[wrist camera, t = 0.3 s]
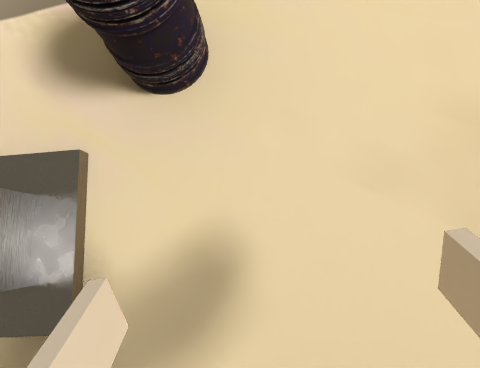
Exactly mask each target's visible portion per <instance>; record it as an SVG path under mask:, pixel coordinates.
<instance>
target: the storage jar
mask: <svg viewBox="0 0 480 368" xmlns="http://www.w3.org/2000/svg"><path fill="white" fill-rule="evenodd" d="M66 1H67V3H68V4H69V5H70V6H71V7H72V8H73V9H74V11H75V12H76V14H77V15H78V16H79V17H80V18H81V19H82V20H84V21H85V22H86V23H87V24H88V25H89V26H91V27H92V28H94V29H95V30H96V32H97V33H98V34H99V35H100V37H101V38H102V39H103V41H104V43H105V45H106V47H107V49H108V50H109V52H110V53H111V54H112V55H113V57H114V58H115V60H116V61H117V63H118V64H119V65H120V66H121V68H122V69H123V70H124V71H125V72H126V73H127V74H129V75H130V77H131V78H132V79H133V81H134V82H135V83H136V84H137V85H138V86H140V87H141V88H142V89H144V90H146V91H148V92H151V93H154V94H173V93H177V92H180V91H182V90H184V89H186V88H188V87H189V86H191V85H192V84H193V83H194V82H196V81H197V80H198V78H199V77H200V76H201V75H202V73H203V71H204V70H205V67H206V65H207V61H208V53H209V52H208V45H207V42H206V38H205V32H204V27H203V24H202V21H201V17H200V15H199V12H198V9H197V6H196V4H195V2H194V0H66Z"/></svg>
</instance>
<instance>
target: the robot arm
mask: <svg viewBox="0 0 480 368" xmlns="http://www.w3.org/2000/svg"><path fill="white" fill-rule="evenodd" d="M438 289H439V290H440V291H441V293H442V294H443V295H444V296H445V297H446V299H447V300H448V301H449V302H450V303H451V305H452V306H453V307H454V308H455V309H456V310H457V312H458V313H459V314H460V315H461V316H462V318H463V319H464V320H465V321H466V322H467V323H468V325H469V326H470V327H471V328H472V329H473V331H474V332H475V333H476V334H477V335H478V337H479V338H480V238H479V237H478V236H476V235H475V234H474V233H472V232H471V231H470V230H469V229H467V228H462V229H455V230H448V231H444V239H443V248H442V257H441V266H440V275H439V284H438ZM128 327H129V326H128V324H127V322H126V319H125V317H124V315H123V313H122V311H121V309H120V306H119V304H118V302H117V300H116V298H115V296H114V293H113V291H112V289H111V287H110V285H109V283H108V280H107V278H102V279H95V280H89V281H88V282H87V283H86V285H85V286H84V288H83V289H82V290H81V292H80V293H79V295H78V296H77V297H76V299H75V300H74V302H73V303H72V304H71V306H70V307H69V309H68V310H67V312H66V313H65V314H64V316H63V317H62V319H61V320H60V321H59V323H58V324H57V326H56V327H55V328H54V330H53V331H52V333H51V334H50V335H49V337H48V338H47V340H46V341H45V343H44V344H43V345H42V347H41V348H40V350H39V351H38V352H37V354H36V355H35V357H34V358H33V359H32V361H31V362H30V364H29V365H28V366H27V368H111V366H112V364H113V361H114V359H115V357H116V354H117V352H118V350H119V348H120V345H121V343H122V341H123V338H124V336H125V334H126V332H127V329H128Z"/></svg>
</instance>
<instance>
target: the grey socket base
mask: <svg viewBox="0 0 480 368" xmlns="http://www.w3.org/2000/svg"><path fill="white" fill-rule="evenodd" d="M87 171H88V153H86V152H84V151H82V150H69V151H57V152H45V153H33V154H21V155H9V156H0V337H22V336H49V335H50V334H51V333H52V331H53V330H54V328H55V327H56V326H57V324H58V323H59V321H60V320H61V319H62V317H63V316H64V314H65V313H66V312H67V310H68V309H69V307H70V306H71V304H72V303H73V302H74V300H75V299H76V297H77V296H78V295H79V293H80V292H81V290H82V284H83V262H84V239H85V216H86V194H87Z"/></svg>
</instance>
